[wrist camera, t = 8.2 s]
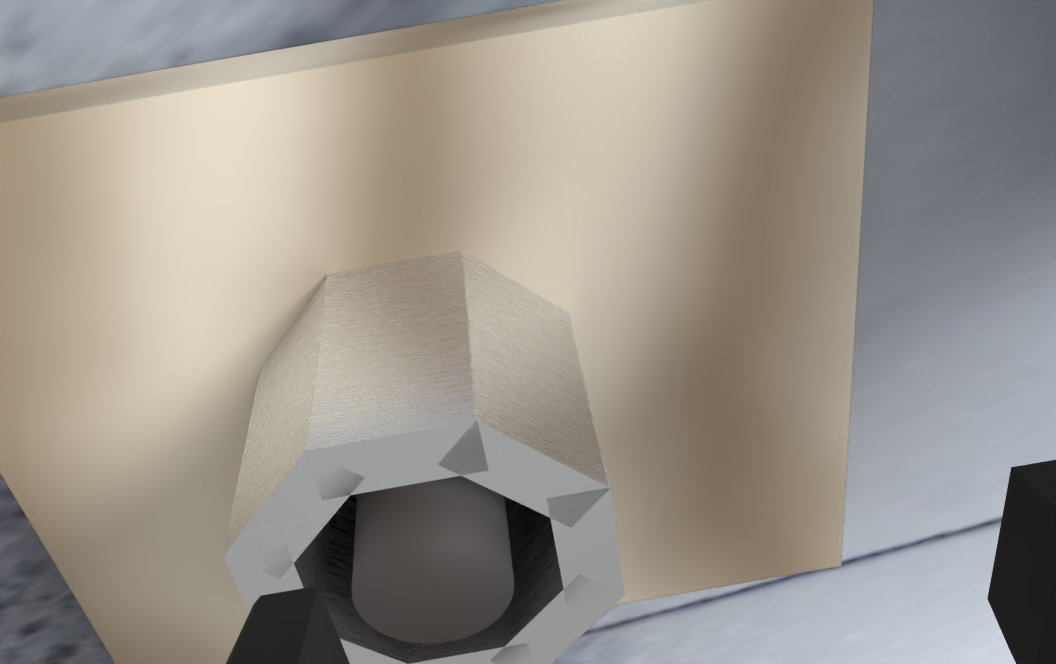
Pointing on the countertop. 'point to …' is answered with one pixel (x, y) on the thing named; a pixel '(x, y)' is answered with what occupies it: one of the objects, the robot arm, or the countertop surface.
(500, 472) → the steel ring
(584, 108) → the post board
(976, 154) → the countertop surface
